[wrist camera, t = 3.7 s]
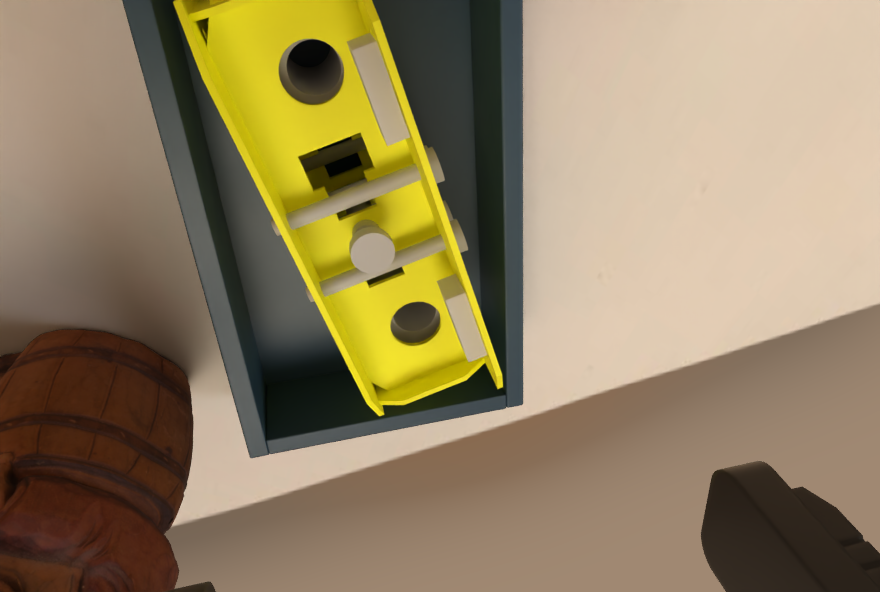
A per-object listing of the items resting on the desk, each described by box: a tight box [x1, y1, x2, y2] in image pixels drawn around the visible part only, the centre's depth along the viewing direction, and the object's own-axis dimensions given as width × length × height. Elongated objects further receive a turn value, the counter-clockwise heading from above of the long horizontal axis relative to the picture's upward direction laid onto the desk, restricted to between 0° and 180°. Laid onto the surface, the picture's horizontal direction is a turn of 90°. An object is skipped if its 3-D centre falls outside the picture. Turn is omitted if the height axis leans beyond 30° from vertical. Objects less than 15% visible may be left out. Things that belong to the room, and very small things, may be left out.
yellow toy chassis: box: [173, 0, 503, 416], centre depth 24 cm, size 16×6×8 cm, turn 18°
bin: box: [122, 0, 523, 458], centre depth 26 cm, size 12×22×4 cm, turn 4°
